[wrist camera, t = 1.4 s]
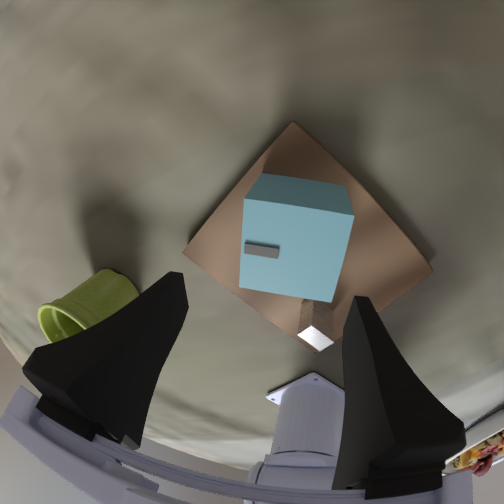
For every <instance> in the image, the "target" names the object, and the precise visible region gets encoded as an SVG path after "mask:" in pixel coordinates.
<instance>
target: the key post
mask: <svg viewBox="0 0 504 504" xmlns="http://www.w3.org/2000/svg"><path fill="white" fill-rule="evenodd" d="M297 335H298V336H300V337H301V338H302V339H304V340H305V341H306V342H308V343H309V344H311V345H312V346H313V347H315V348H316V349H318V350H319V351H321V350H323V349H324V348H326V347H328V346H329V345H331V344H333V343H334V311H333V310H332V309H331V308H329V307H328V306H327V305H326V304H325V303H323V302H322V301H317V300H311V299H307V300H305V301H304V302H303V303H301V309H300V318H299V326H298V334H297Z"/></svg>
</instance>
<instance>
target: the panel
mask: <svg viewBox="0 0 504 504" xmlns="http://www.w3.org/2000/svg"><path fill="white" fill-rule="evenodd" d="M261 173H265V174H273V175H281V176H288V177H295V178H301V179H308V180H314V181H320V182H326V183H332V184H338V185H343V186H345V187H346V190H347V194H348V197H349V200H350V203H351V206H352V209H353V213H354V220H353V224H352V228H351V233H350V237H349V241H348V245H347V249H346V252H345V256H344V260H343V264H342V268H341V271H340V275H339V278H338V282H337V285H336V289H335V292H334V296H333V299H332V302H331V303H330V302H324V301H322V302H323V303H325V304H326V305H327V306H328V307H329V308H331V309H332V310H333V311H334V341H336V340H337V339H339V338H341V337H342V336H343V328H344V325H345V322H346V319H347V316H348V313H349V310H350V307H351V304H352V301H353V298H354V295H356V296H366V297H369V298H370V300H371V302H372V304H373V306H374V308H375V310H376V312H377V313H379V312H380V311H381V310H383V309H384V308H386V307H387V306H389V305H390V304H391V303H393V302H394V301H395V300H397V299H398V298H400V297H401V296H402V295H404V294H405V293H406V292H408V291H409V290H410V289H412V288H413V287H414V286H416V285H417V284H418V283H419V282H421V281H422V280H423V279H425V278H426V277H427V276H428V275H430V274H431V273H432V272H433V269H432V268H431V266H430V264H429V262H428V261H427V260H426V258H425V257H424V256H423V255H422V253H421V252H420V251H419V249H418V248H417V247H416V246H415V244H414V243H413V242H412V241H411V240H410V238H409V237H408V236H407V235H406V233H405V232H404V231H403V230H402V229H401V227H400V226H399V225H398V224H397V223H396V222H395V220H394V219H393V218H392V217H391V216H390V215H389V214H388V212H387V211H386V210H385V209H384V208H383V207H382V206H381V205H380V204H379V202H378V201H377V200H376V199H375V198H374V197H373V196H372V195H371V194H370V193H369V192H368V191H367V190H366V189H365V187H364V186H363V185H362V184H361V183H360V182H359V181H358V180H357V179H356V178H355V177H354V176H353V175H352V174H351V173H350V172H349V171H348V170H347V169H346V168H345V167H344V166H343V165H342V164H341V163H340V162H339V161H338V160H337V159H336V158H335V157H333V156H332V155H331V154H330V153H329V152H328V151H327V150H326V149H325V148H324V147H323V146H322V145H321V144H320V143H318V142H317V141H316V140H315V139H314V138H313V137H312V136H311V135H310V134H308V133H307V132H306V131H305V130H304V129H303V128H302V127H300V126H299V125H298V124H297V123H296V122H295V121H292V122H291V123H290V125H289V126H288V127H287V128H286V129H285V130H284V131H283V132H282V133H281V134H280V136H279V137H278V138H277V139H276V140H275V141H274V142H273V143H272V144H271V146H270V147H269V148H268V149H267V150H266V151H265V152H264V154H263V155H262V156H261V157H260V158H259V159H258V160H257V162H256V163H255V164H254V165H253V166H252V167H251V168H250V170H249V171H248V172H247V173H246V174H245V175H244V177H243V178H242V179H241V180H240V181H239V182H238V184H237V185H236V186H235V187H234V188H233V190H232V191H231V192H230V193H229V194H228V196H227V197H226V198H225V199H224V200H223V202H222V203H221V204H220V205H219V206H218V208H217V209H216V210H215V211H214V213H213V214H212V215H211V216H210V218H209V219H208V220H207V221H206V222H205V224H204V225H203V226H202V227H201V229H200V230H199V231H198V232H197V234H196V235H195V236H194V238H193V239H192V240H191V241H190V243H189V244H188V245H187V246H186V248H185V249H184V250H183V252H182V253H183V254H184V255H185V256H187V257H188V258H189V259H190V260H192V261H193V262H194V263H195V264H197V265H198V266H199V267H200V268H202V269H203V270H204V271H205V272H207V273H208V274H209V275H211V276H212V277H213V278H214V279H216V280H217V281H218V282H220V283H221V284H222V285H223V286H225V287H226V288H227V289H229V290H230V291H231V292H233V293H234V294H235V295H237V296H238V297H239V298H240V299H242V300H243V301H244V302H246V303H247V304H248V305H250V306H251V307H252V308H254V309H255V310H256V311H258V312H259V313H260V314H262V315H263V316H264V317H266V318H267V319H269V320H270V321H271V322H273V323H274V324H275V325H277V326H278V327H279V328H281V329H282V330H284V331H285V332H286V333H288V334H289V335H290V336H292V337H293V338H295V339H296V340H297V341H299V342H300V343H302V344H303V345H304V346H306V347H307V348H309V349H310V350H312V351H313V352H314V353H316V352H317V351H319V350H318V349H316V348H315V347H313V346H312V345H311V344H309V343H308V342H306V341H305V340H304V339H302V338H301V337H300V336H298V335H297V334H298V326H299V318H300V309H301V303H303V302H304V301H305V300H307V299H305V298H299V297H293V296H287V295H281V294H275V293H269V292H264V291H258V290H252V289H247V288H241V287H239V277H240V258H241V240H242V223H243V206H244V198H245V196H246V195H247V193H248V192H249V190H250V189H251V188H252V186H253V185H254V183H255V182H256V180H257V179H258V178H259V176H260V175H261Z"/></svg>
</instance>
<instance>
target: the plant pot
mask: <svg viewBox="0 0 504 504" xmlns="http://www.w3.org/2000/svg"><path fill="white" fill-rule="evenodd" d="M138 296H139V293H138V291H137V289H136V288H135V286H134V285H133V284H132V282H131V281H130V280H129V279H128V278H127V277H125V276H124V275H121V274H117V273H115V272H113V271H112V270H111V269H103V270H101V271H99V272H98V273H96V274H95V275H93V276H92V277H91V278H89V279H88V280H86V281H85V282H84V283H82V284H81V285H79V286H78V287H77V288H75V289H74V290H72V291H71V292H70V293H68V294H67V295H65V296H64V297H62V298H61V299H56V300H55V301H53V302H52V303H46V304H43V305H42V306H41V307H40V308H39V310H38V320H39V324H40V326H41V329H42V331H43V332H44V334H45V336H46V337H47V339H48V340H49V342H50V343H54V342H57V341H60V340H62V339H65V338H68V337H70V336H72V335H75V334H77V333H79V332H81V331H83V330H85V329H87V328H89V327H91V326H93V325H95V324H97V323H99V322H101V321H102V320H104V319H106V318H107V317H109V316H111V315H112V314H114V313H115V312H117V311H118V310H120V309H121V308H122V307H124V306H125V305H127V304H128V303H129V302H131V301H132V300H134V299H135V298H136V297H138Z"/></svg>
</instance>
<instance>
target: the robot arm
mask: <svg viewBox="0 0 504 504" xmlns="http://www.w3.org/2000/svg"><path fill="white" fill-rule="evenodd" d="M188 308H189V305H188V300H187V294H186V289H185V283H184V277H183V273H178V272H172V271H170V272H168V273H167V274H166V275H164V276H163V277H162V278H161V279H159V280H158V281H157V282H156V283H154V284H153V285H152V286H151V287H149V288H148V289H147V290H145V291H144V292H143V293H142V294H140V295H139V296H138V297H136V298H135V299H134V300H132V301H131V302H129V303H128V304H127V305H125V306H124V307H122V308H121V309H120V310H118V311H117V312H115V313H114V314H112V315H111V316H109V317H107V318H106V319H104V320H102V321H101V322H99V323H97V324H95V325H93V326H91V327H89V328H87V329H85V330H83V331H81V332H79V333H77V334H75V335H72V336H70V337H68V338H65V339H62V340H60V341H57V342H54V343H51V344H47V345H44V346H41V347H37V348H35V350H34V351H33V353H32V354H31V356H30V357H29V359H28V360H27V362H26V363H25V364H24V366H23V367H22V370H23V373H24V375H25V376H26V377H27V378H28V380H29V381H30V382H31V383H32V384H33V385H34V386H35V387H36V388H37V389H38V390H39V391H40V392H41V393H42V394H43V395H42V396H41V398H40V399H39V398H38V397H37V396H36V395H34V394H33V393H32V392H30V391H29V390H27V389H26V388H24V387H23V386H21V385H20V386H19V388H18V389H17V391H16V392H15V394H14V396H13V397H12V399H11V401H10V402H9V404H8V406H7V408H6V409H5V411H4V413H3V415H2V417H1V418H0V427H1V428H3V429H4V430H5V431H6V432H7V433H8V434H9V435H10V436H11V437H13V438H14V439H15V440H16V441H17V442H18V443H19V444H20V445H21V446H23V447H24V448H25V449H26V450H27V451H28V452H29V453H31V454H32V455H33V456H34V457H35V458H37V459H38V460H39V461H40V462H41V463H43V464H44V465H45V466H47V467H48V468H49V469H51V470H52V471H53V472H54V473H56V474H57V475H58V476H60V477H61V478H63V479H64V480H66V481H67V482H68V483H70V484H72V485H73V486H74V487H76V488H77V489H79V490H80V491H82V492H84V493H85V494H87V495H88V496H90V497H91V498H93V499H95V500H96V501H97V504H192V503H189V502H185V501H182V500H179V499H176V498H172V497H169V496H166V495H163V494H160V493H157V491H158V488H159V485H158V484H157V483H155V482H153V481H151V480H149V479H147V478H145V477H144V476H143V475H141V474H139V473H137V472H134V471H132V470H130V469H128V468H126V467H123V466H122V464H121V463H124V464H126V465H128V466H131V467H133V468H136V469H138V470H141V471H143V472H146V473H148V474H151V475H154V476H157V477H160V478H162V479H165V480H168V481H171V482H174V483H178V484H181V485H184V486H187V487H191V488H195V489H198V490H203V491H206V492H210V493H214V494H219V495H223V496H228V497H233V498H238V499H244V504H473V489H472V488H473V487H472V470H471V469H467V470H463V471H459V472H455V473H451V474H448V475H445V476H442V470H444V469H445V468H446V462H445V461H446V460H447V459H449V458H451V457H453V456H454V455H456V454H458V453H459V452H460V451H462V450H463V449H464V448H465V447H466V445H467V442H466V434H465V428H464V423H463V422H462V421H461V420H460V419H459V418H457V417H456V416H455V415H454V414H453V413H452V412H450V411H449V410H448V409H447V408H446V407H445V406H444V405H443V404H442V403H441V402H440V401H439V400H438V399H437V398H436V397H435V396H434V395H433V394H432V393H431V392H430V391H429V390H428V389H427V387H426V386H425V385H424V384H423V383H422V382H421V381H420V379H419V378H418V377H417V376H416V374H415V373H414V372H413V370H412V369H411V368H410V366H409V365H408V364H407V362H406V361H405V359H404V358H403V356H402V355H401V353H400V352H399V350H398V349H397V347H396V345H395V344H394V342H393V340H392V339H391V337H390V335H389V333H388V332H387V330H386V328H385V326H384V325H383V323H382V321H381V319H380V317H379V315H378V313H377V312H376V310H375V308H374V306H373V304H372V302H371V300H370V298H369V297H366V296H356V295H354V298H353V301H352V304H351V307H350V310H349V313H348V316H347V319H346V322H345V325H344V328H343V343H342V355H343V371H344V390H342V389H340V388H339V387H337V386H336V385H334V384H332V383H331V382H329V381H328V380H326V379H324V378H323V377H321V376H320V375H318V374H317V373H310V374H308V375H306V376H304V377H302V378H300V379H298V380H296V381H294V382H292V383H290V384H288V385H286V386H283V387H281V388H279V389H277V390H275V391H273V392H271V393H268V394H267V395H266V398H267V399H269V400H270V401H272V402H274V403H276V404H278V405H280V407H279V412H278V418H277V423H276V428H275V433H274V438H273V443H272V448H271V453H270V455H268V454H266V455H265V460H264V462H262V461H260V462H258V463H257V464H256V465H254V466H253V467H252V468H251V470H250V472H249V474H248V477H247V480H246V482H241V481H236V480H231V479H226V478H222V477H217V476H213V475H209V474H205V473H200V472H197V471H193V470H190V469H186V468H183V467H179V466H176V465H173V464H170V463H167V462H164V461H161V460H158V459H155V458H152V457H149V456H147V455H144V454H141V453H139V452H136V451H134V450H136V449H138V448H140V445H141V439H142V434H143V430H144V425H145V421H146V417H147V413H148V409H149V405H150V402H151V399H152V395H153V392H154V389H155V386H156V383H157V380H158V377H159V374H160V372H161V370H162V367H163V365H164V363H165V361H166V359H167V357H168V355H169V353H170V351H171V349H172V347H173V345H174V343H175V341H176V339H177V336H178V334H179V332H180V330H181V328H182V326H183V323H184V320H185V317H186V314H187V311H188Z"/></svg>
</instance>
